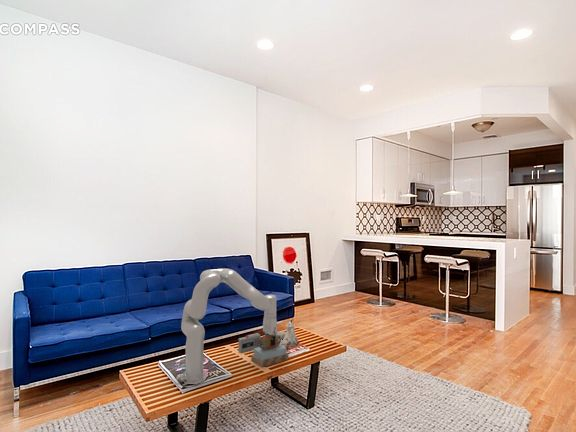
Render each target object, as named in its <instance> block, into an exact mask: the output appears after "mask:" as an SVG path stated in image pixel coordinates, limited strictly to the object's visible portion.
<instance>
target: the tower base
mask: <svg viewBox="0 0 576 432" xmlns="http://www.w3.org/2000/svg"><path fill="white" fill-rule="evenodd" d="M289 355H290V354H289V353H287V354H285V355H281V356H278V357H274V358H270V359H266V360H262V361H261V360H260V359H259V358H257V357H256V356H254V354H251V355H250V356H251V358H250V360H251V362H253V363H254V364H255V365H257V366H259V367H260V368H264V367H268V366H270V365H274V364H277V363H281V362H284V361H288V360H289V359H290V358H289Z"/></svg>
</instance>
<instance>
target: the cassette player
mask: <svg viewBox="0 0 576 432" xmlns="http://www.w3.org/2000/svg"><path fill="white" fill-rule="evenodd" d="M260 338H261V334H260V333H258V332H257V333H253V334H251V333H250V334H247V335H245V336H244V337H239V338H238V347H237V348H238V353H239V354H244V353H247V352H251V351H254V348H259V340H260Z"/></svg>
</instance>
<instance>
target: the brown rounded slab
mask: <svg viewBox="0 0 576 432" xmlns="http://www.w3.org/2000/svg"><path fill="white" fill-rule="evenodd" d="M273 336H274V335H273ZM280 342H281V338H280V336H279V335H278V336H277V337H276V339H275V345H274V346H271V335H266V336H265V335H263V336H262V337H261V338H260V340H259V347H260V348H261V349H262V350H269V349H272V348H276V347H278V346H279V344H280Z"/></svg>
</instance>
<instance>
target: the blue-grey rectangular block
mask: <svg viewBox="0 0 576 432" xmlns="http://www.w3.org/2000/svg"><path fill="white" fill-rule="evenodd" d="M287 352H288V351H287V346H286V347H284V346H283V345H281V344H279V346H278V347H276V348H272V349H269V350H262V349H261V348H260V347H259V348H254V350H253V355H254V356H256V357H257V358H259V359H260V360H261V361H262V360H266V359H270V358H274V357H278V356H281V355H285V354H287Z"/></svg>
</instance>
